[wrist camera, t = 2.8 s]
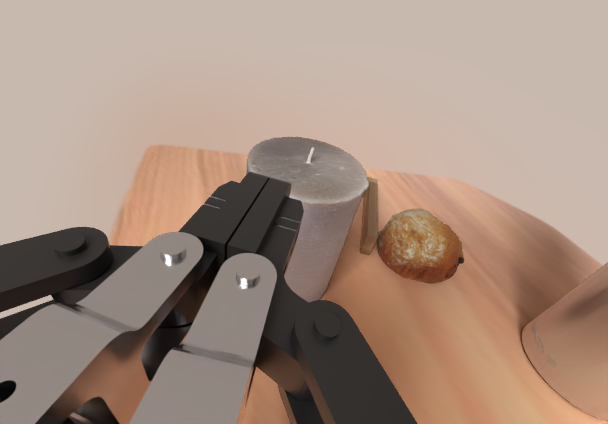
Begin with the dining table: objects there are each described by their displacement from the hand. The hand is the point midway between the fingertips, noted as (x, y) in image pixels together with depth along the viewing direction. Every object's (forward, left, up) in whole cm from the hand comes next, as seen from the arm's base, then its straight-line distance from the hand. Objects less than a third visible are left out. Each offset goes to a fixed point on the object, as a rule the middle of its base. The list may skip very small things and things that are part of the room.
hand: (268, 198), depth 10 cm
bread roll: (-15, -21, -18) cm, 32 cm away
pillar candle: (0, -12, -18) cm, 22 cm away
